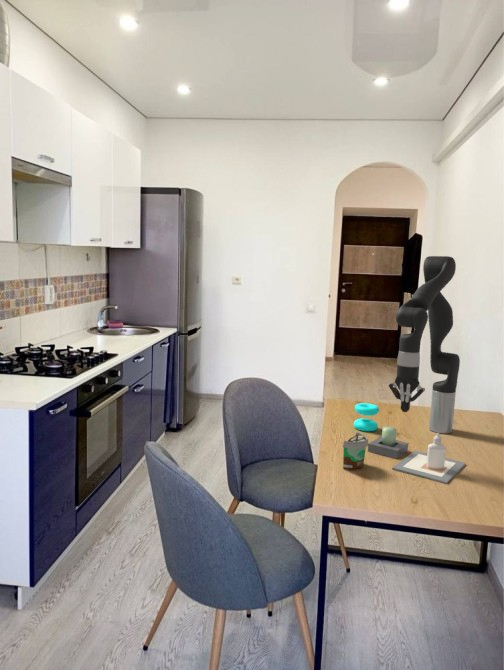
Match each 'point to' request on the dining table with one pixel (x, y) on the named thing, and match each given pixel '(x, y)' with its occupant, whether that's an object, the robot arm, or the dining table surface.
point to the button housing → (388, 448)
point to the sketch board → (418, 467)
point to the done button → (389, 436)
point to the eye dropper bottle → (436, 454)
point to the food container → (354, 452)
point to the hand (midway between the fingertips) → (404, 411)
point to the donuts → (368, 411)
